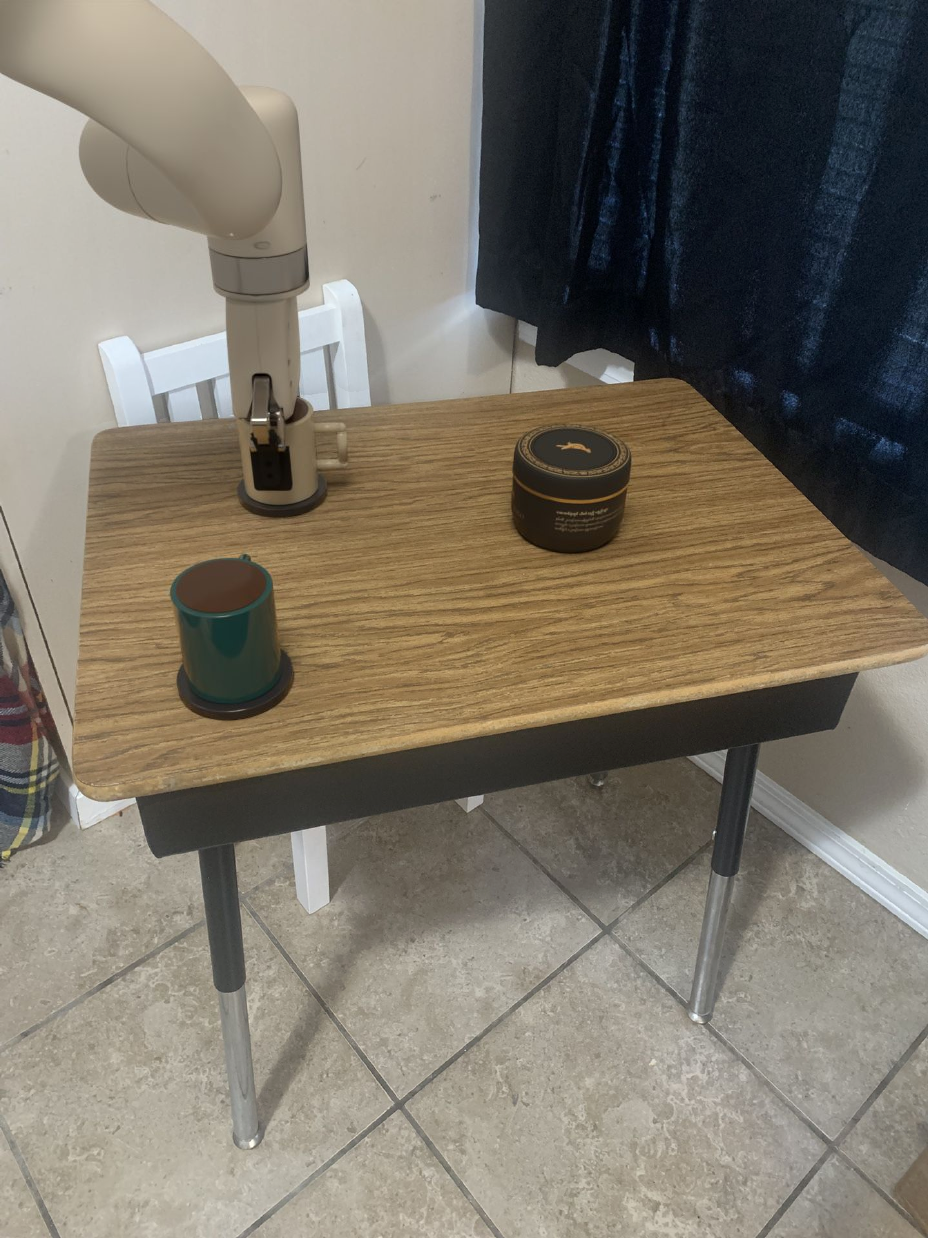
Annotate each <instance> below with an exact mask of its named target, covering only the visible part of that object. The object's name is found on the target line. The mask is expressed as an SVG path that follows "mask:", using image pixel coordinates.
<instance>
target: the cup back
mask: <svg viewBox="0 0 928 1238" xmlns="http://www.w3.org/2000/svg"><path fill="white" fill-rule="evenodd" d="M270 412H279V407H270ZM314 414H315V413H314V407H313V405H312V403H311V402H309V401H308V400H306V399H305V398H303V397H301V396H299V397H297V398H296V402H295V407H294V411H293V414H292V415H291V416H290V417H289V418H288V419H286V420H285V445H286V446H289V449H290V460H291V470H292V481H293V486H292V489H291V490H290V491H257V490H256V489H255V488H254V482H253V473H252V465H251V457H250V409H249V412H248V415H247V418H242V419H241V420H238V419H237V418H236V417H235V420H236V422H235V423H236V428H237V430H236V431H237V438H238V444H239V454H240V460H241V469H242V476H243V477H242V478H244V485H245V491H246V493H247V494H248V496H249V497H251V498H252V499H254V500H255V501H258V502H261V503H264V504H270V505H287V504H293V503H297V502H300V501H303V500H305V499H307V498H309V497H311V496H312V495H313V494H314V493H315V492H316V491H317V489H318V486H319V481H318V473H319V471H323V470H325V471H327V470H328V471H329V470H345V469H347V468H348V467H349V462H348V461H349V454H348V451H349V450H348V437H347V436H348V435H347V434H348V433H347V432H348V431H347V425H346V424H345V422H315V415H314ZM270 425H271V428H270V429H274V430H275V432H276V433H277V422H270ZM316 434H336V451H337V458H327V459H326V458H325V459H318V455H317V441H316Z"/></svg>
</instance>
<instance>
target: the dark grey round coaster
mask: <svg viewBox="0 0 928 1238" xmlns="http://www.w3.org/2000/svg"><path fill="white" fill-rule="evenodd" d="M318 481H319V486H318V489H317V491H316V492H315V493H314V494H313V495H312V496H311V497H309V498H307V499H305V500H303V501H300V502H297V503H293V504H287V505H270V504H264V503H261V502H258V501H255V500H254V499H252V498H251V497H249V496H248V494H247V493H246V491H245V485H244V477H242V479H240V482H239V483H238V484H237V487H236V492H237V499H238V502H239V504H240V505H241V506H242V507H243V508H244V510H246V511H248V512H251V513H252V514H255V515H257V516H262V517H268V518H289V517H296V516H300V515H303V514H306V513H308V512H311V511H313V510H315V509H317V508H318V507H319V506H321V504H322V503H323V502H324V501H325V500H326V498H327V494H328V488H327V487H328V485H327V482H326V479H325V478H324V476H323V475H322V474H321V473H320V472H318Z"/></svg>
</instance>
